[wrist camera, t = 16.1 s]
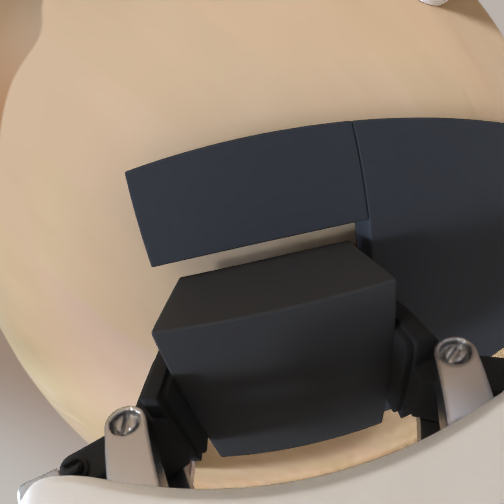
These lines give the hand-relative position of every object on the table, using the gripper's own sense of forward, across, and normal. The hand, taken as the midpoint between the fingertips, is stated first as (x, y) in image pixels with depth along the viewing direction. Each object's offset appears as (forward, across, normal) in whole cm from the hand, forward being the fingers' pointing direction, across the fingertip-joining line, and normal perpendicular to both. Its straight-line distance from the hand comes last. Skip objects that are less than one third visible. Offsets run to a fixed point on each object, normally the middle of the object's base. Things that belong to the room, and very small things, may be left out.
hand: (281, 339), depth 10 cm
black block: (+1, 0, 0) cm, 1 cm away
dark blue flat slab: (+2, -6, 0) cm, 7 cm away
